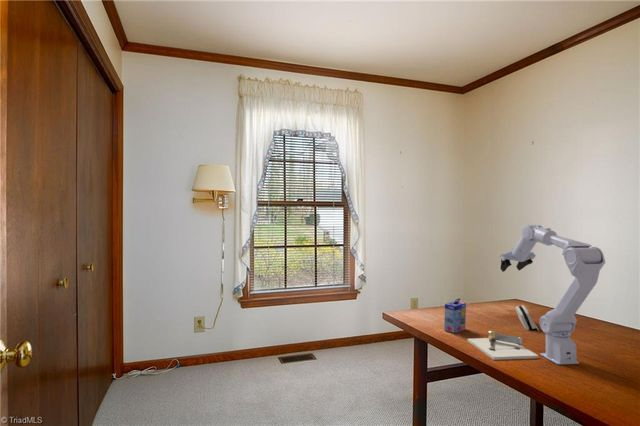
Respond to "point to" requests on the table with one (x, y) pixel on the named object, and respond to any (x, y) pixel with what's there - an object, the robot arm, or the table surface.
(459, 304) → the ink cartridge box
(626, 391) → the table surface
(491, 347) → the divider fixed leg
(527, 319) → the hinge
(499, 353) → the plate
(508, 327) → the table surface
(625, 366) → the table surface
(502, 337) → the divider leg
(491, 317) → the table surface
